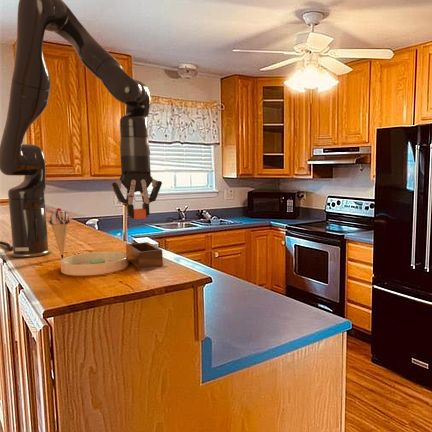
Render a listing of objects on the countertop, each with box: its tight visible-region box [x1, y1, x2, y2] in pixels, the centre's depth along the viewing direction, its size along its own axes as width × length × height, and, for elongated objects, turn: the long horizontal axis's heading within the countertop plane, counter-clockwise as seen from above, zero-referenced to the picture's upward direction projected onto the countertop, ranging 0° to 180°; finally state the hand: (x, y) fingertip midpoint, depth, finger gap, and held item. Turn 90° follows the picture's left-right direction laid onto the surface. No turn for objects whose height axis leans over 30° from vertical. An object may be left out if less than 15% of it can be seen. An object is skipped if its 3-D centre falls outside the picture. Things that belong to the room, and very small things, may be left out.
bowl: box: [59, 250, 130, 276], centre depth 111 cm, size 16×16×3 cm
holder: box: [125, 241, 164, 270], centre depth 116 cm, size 14×6×5 cm, turn 34°
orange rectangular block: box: [133, 208, 147, 220], centre depth 117 cm, size 4×3×2 cm
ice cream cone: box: [48, 207, 72, 259], centre depth 121 cm, size 6×6×15 cm
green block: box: [90, 258, 105, 264], centre depth 109 cm, size 4×3×2 cm
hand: (138, 217), depth 117 cm, fingers closed on orange rectangular block, 3 cm apart
